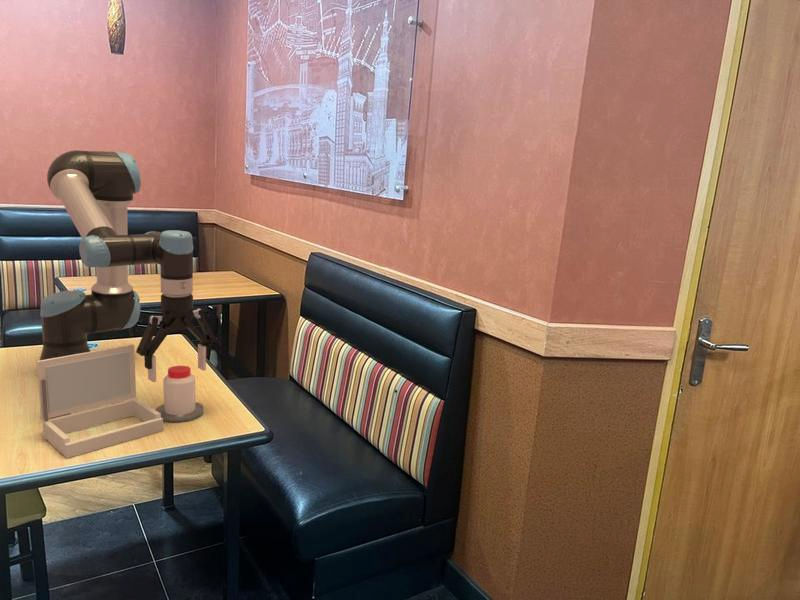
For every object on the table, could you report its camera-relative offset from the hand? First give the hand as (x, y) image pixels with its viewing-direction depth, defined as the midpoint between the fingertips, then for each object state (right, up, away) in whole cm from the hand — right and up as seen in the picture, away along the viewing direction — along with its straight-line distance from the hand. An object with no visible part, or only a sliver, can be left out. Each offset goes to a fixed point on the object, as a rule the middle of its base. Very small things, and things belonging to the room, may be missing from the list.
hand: (177, 374), depth 161 cm
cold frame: (-13, -13, -12) cm, 22 cm away
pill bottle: (0, -9, +2) cm, 10 cm away
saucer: (0, -10, +2) cm, 10 cm away
